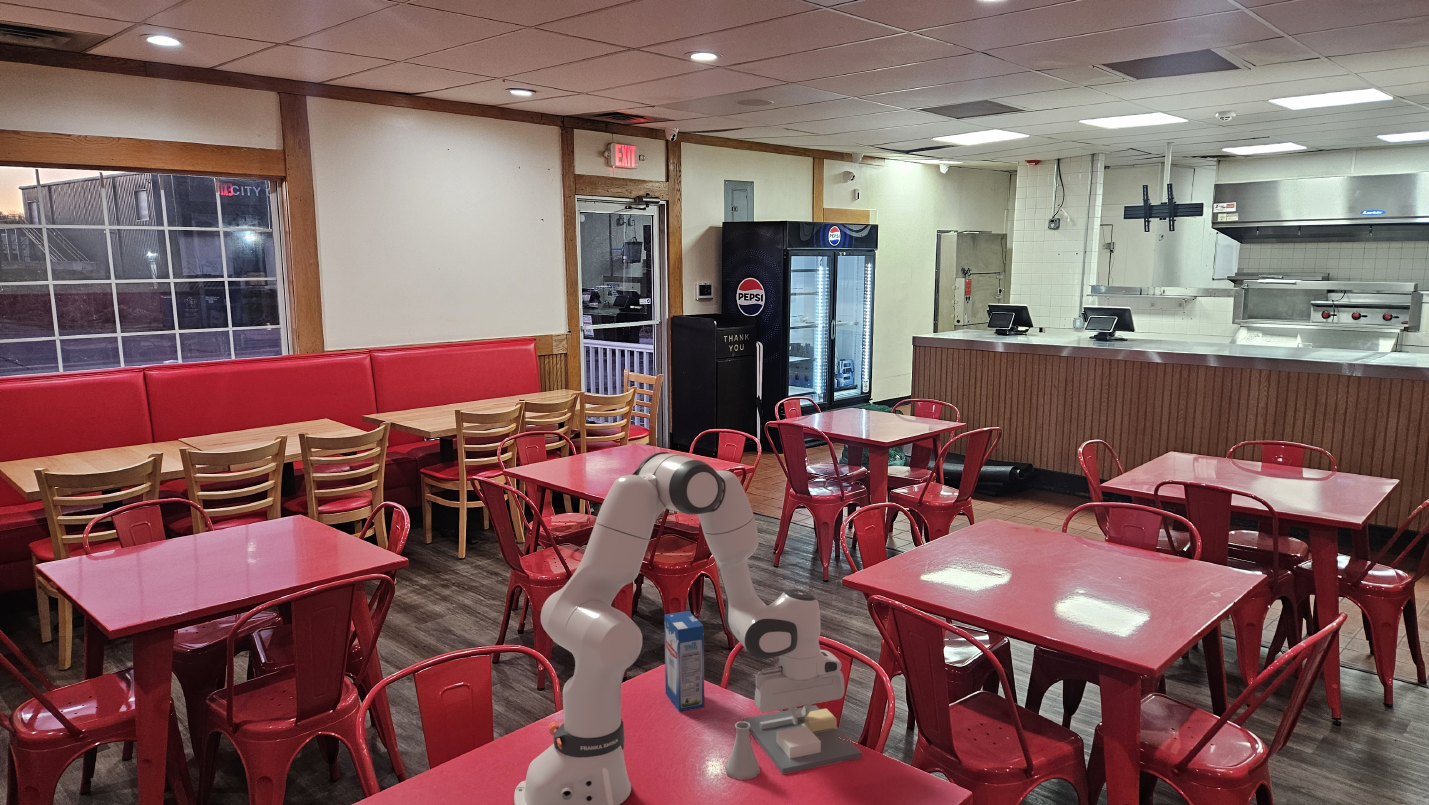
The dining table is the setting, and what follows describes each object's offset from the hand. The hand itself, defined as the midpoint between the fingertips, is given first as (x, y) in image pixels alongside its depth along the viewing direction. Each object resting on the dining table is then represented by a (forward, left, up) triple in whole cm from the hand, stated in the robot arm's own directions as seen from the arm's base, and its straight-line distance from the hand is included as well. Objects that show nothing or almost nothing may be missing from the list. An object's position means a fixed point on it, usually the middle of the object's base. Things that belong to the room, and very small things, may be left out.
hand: (799, 722), depth 200 cm
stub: (+4, -1, -1) cm, 5 cm away
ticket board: (-1, -3, -2) cm, 4 cm away
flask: (-17, -10, -3) cm, 20 cm away
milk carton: (-19, +23, -3) cm, 30 cm away
